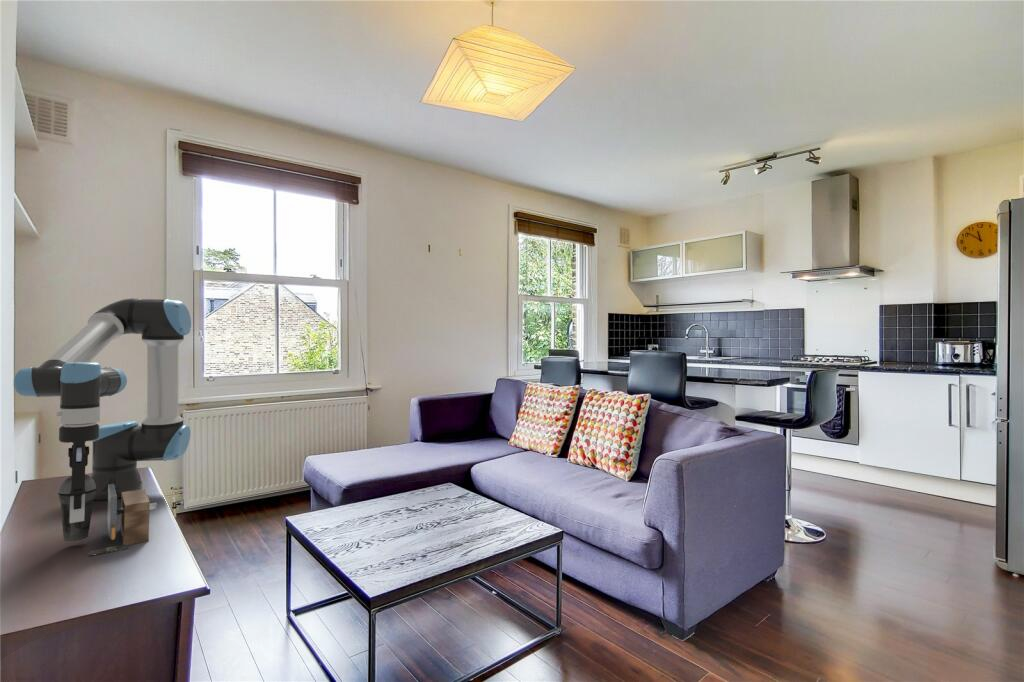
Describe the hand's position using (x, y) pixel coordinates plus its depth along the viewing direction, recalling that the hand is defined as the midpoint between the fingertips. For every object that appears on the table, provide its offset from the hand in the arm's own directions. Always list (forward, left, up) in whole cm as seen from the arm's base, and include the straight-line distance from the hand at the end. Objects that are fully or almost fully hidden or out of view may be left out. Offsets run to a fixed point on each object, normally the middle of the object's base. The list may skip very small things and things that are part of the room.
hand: (76, 517), depth 124 cm
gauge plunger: (-8, +7, -4) cm, 12 cm away
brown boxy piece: (-6, +6, -7) cm, 11 cm away
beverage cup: (0, 0, -5) cm, 5 cm away
